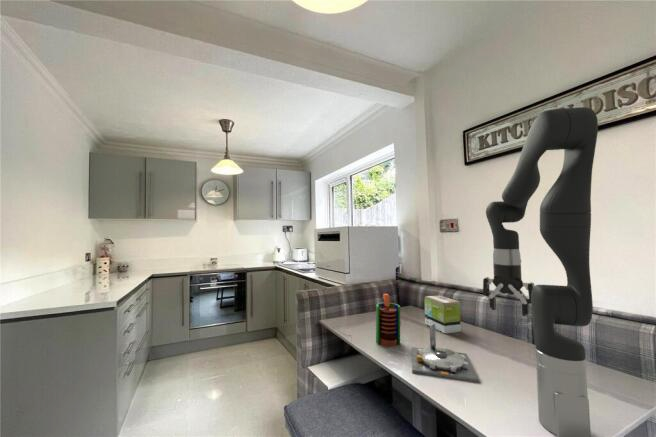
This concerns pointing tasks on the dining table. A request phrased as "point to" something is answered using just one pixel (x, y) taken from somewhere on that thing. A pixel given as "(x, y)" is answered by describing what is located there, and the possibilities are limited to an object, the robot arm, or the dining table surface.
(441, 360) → the sprocket
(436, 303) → the tea box
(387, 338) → the motor
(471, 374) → the base plate
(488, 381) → the dining table surface
